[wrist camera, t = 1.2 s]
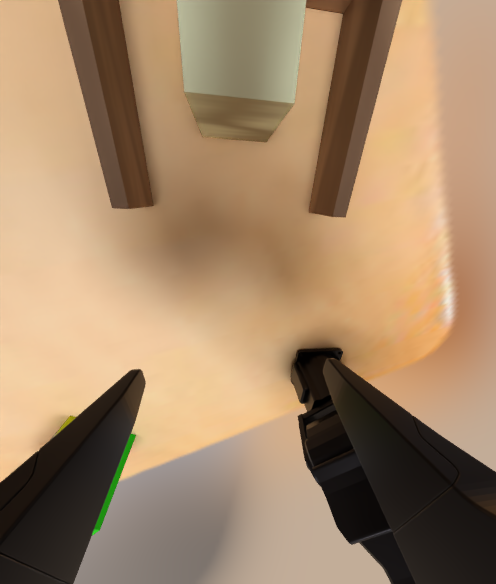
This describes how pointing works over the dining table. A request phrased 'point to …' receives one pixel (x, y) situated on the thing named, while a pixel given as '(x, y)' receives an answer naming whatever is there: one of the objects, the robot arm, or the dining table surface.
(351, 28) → the open wooden frame
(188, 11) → the block
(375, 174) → the dining table surface
